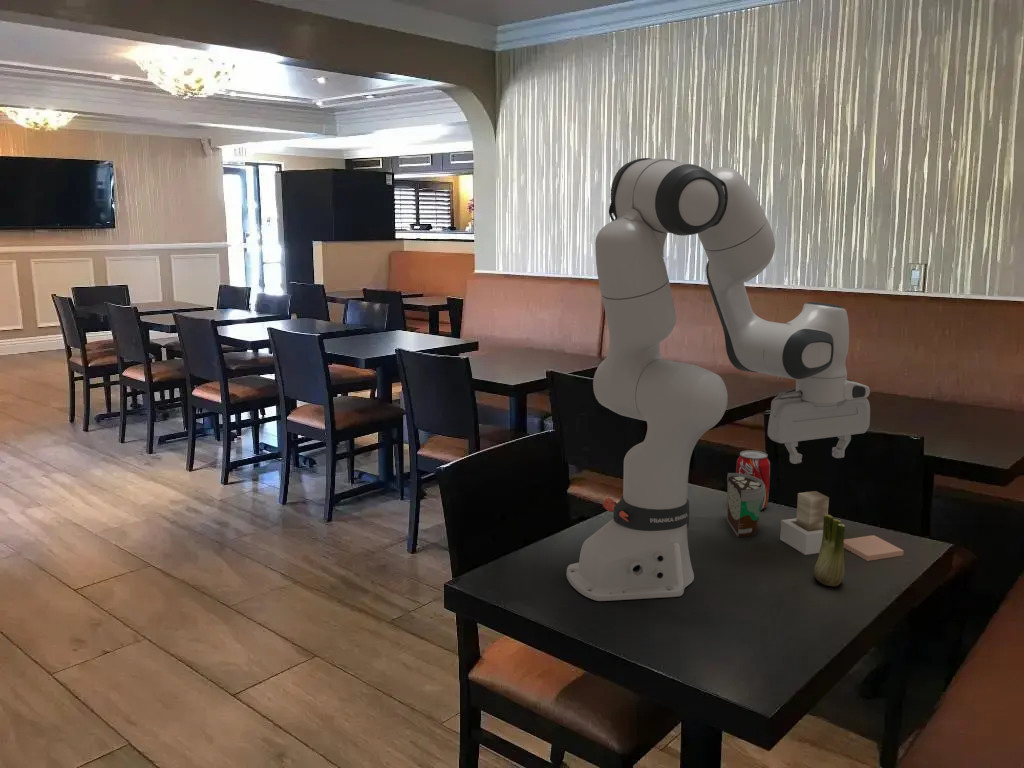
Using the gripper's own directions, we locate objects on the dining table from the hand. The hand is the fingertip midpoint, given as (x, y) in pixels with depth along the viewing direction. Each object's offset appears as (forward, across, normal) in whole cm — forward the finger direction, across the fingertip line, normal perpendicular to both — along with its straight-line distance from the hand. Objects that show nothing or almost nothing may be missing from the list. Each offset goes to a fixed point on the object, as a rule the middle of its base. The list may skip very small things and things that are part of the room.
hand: (816, 460), depth 162 cm
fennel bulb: (+17, -8, -16) cm, 25 cm away
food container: (+17, -7, +11) cm, 22 cm away
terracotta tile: (+17, +8, -6) cm, 20 cm away
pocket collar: (+17, -1, 0) cm, 17 cm away
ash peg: (+17, -1, 0) cm, 17 cm away
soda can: (+17, 0, +22) cm, 28 cm away
